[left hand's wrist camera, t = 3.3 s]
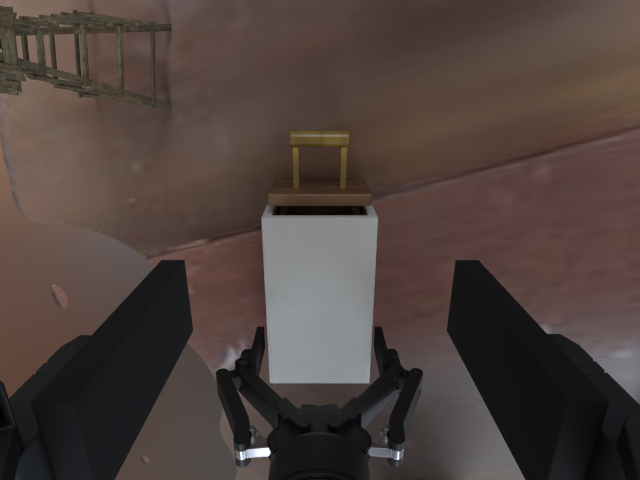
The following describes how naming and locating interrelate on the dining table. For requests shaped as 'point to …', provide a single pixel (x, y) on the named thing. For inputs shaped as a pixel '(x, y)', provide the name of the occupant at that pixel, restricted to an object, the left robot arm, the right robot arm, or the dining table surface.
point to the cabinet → (319, 295)
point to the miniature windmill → (9, 64)
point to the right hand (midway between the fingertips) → (319, 336)
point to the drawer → (319, 182)
